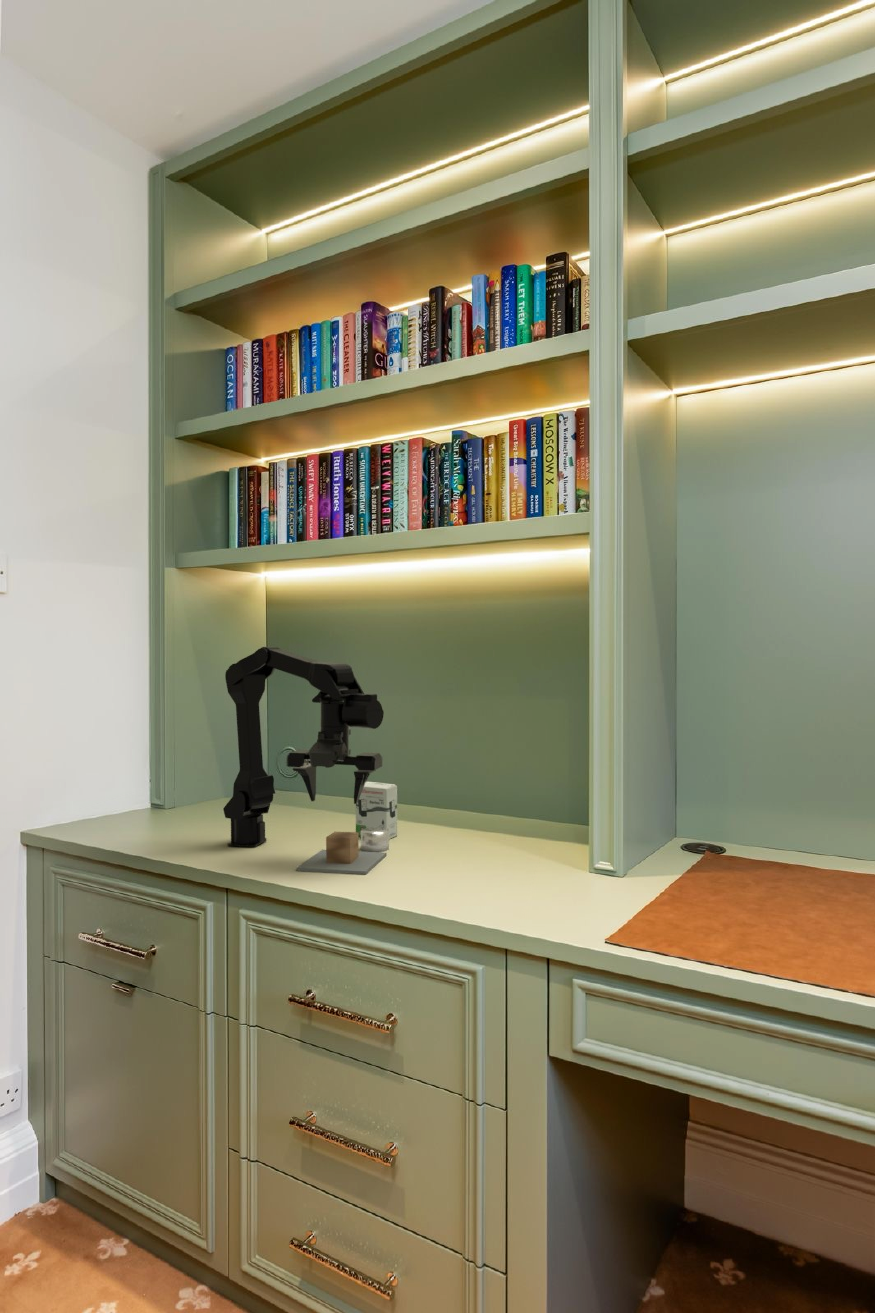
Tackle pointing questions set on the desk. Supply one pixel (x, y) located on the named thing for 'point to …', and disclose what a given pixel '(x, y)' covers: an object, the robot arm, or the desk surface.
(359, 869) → the mat
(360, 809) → the ink box
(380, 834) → the tin
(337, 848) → the walnut block
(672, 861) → the desk surface
